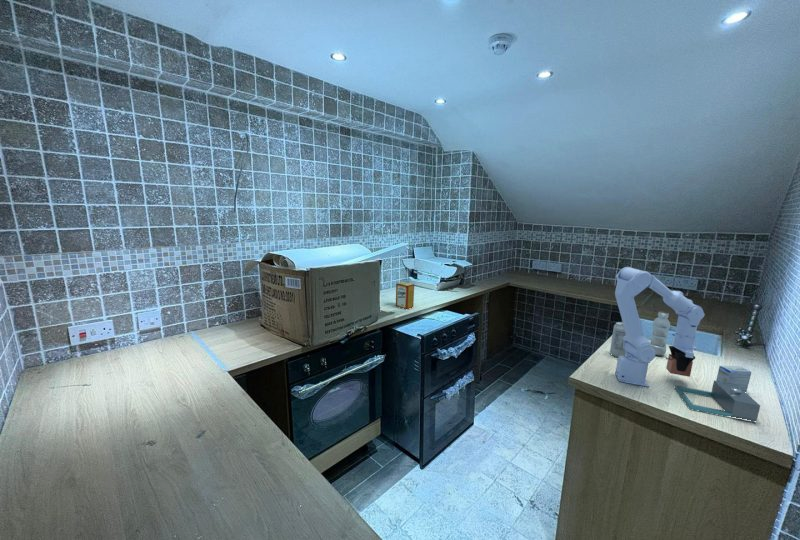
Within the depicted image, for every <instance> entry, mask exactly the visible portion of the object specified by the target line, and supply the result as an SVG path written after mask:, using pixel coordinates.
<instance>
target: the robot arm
mask: <svg viewBox="0 0 800 540" xmlns="http://www.w3.org/2000/svg"><path fill="white" fill-rule="evenodd" d="M615 278H616V281H617V282H616V287H615V291H614V296H615V299H616V303H617V308H618V310H619V314H620V317H621V322H622V323H623V325H624V329H625V332H626V336H624V337H623V340H624V343H623V349H624V350H625V351H626V352H625V354H626V356H619V357H617V360H616V368H615V372H614V373H615V375H616V377H617V379H618V381H619V382H622V383H627V384H632V385H637V386H642V387H647V388H648V387H649V386H650V385H649V383H648V382H647V380H646V379H647V375H648V374H647V373H648V368H649V364H650V363H651V362H652V361H654V360H655V357H656V356H657V355H656V353H655V350H654V349H653V348H652V347H651V345H650V342H651V341H649V340H648V338H647V337H646V336H645V334H644V329H643V327H642V322H641V320H640V315H639V313H638V312H639V311H638V308H637V305H636V304H637V303H636V301H635V297H636V296H637V295H639V294H640V293H641V292H642V291H644V290H645V289H647V288H649V289H650V290H652V291H653V292H654V293H657V295H659V296H661V298H662V301H663V302H664V304H666V305H667V306H668V307H670V308H671V309H672V310H674V312H675V315H677V316H678V317H677V322H676V327H675V333H674V337H673V338H672V341H671V345H668V349H669V351H670V354H672V355H676V357H677V370H678V371H682V372H685V370H686V369H687V367H688V365H689V364H690V363H691V362H692V361H693V362H694V360H695V359H696V356H695V353H694V351H697V349H698V348H697V347H696V346H694V345H695V338H696V335H697V330H698V326H699V325H700V322H701V320H702V319H703V318H704V317H705V315H706V313H704V310H703V308H702V307H701V306H700V305H698V304H694V301H693V300H692V299H689V298H687V297H685V295H684V293H683V292H682V291H679V290H671V289H670V288H668V287H667V286H666V285H665V284H664V283H662V282H661V281H660V280H659V279H658V278H656V275H653V274H651V273H650V272H648V271H646V270H641V269H637V268H633V267H631V266H625V267H623V268H621V269H620V270H619V272H618V273H617V274H616V275H615Z"/></svg>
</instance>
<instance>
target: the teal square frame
mask: <svg viewBox="0 0 800 540" xmlns="http://www.w3.org/2000/svg"><path fill="white" fill-rule="evenodd" d="M674 390H676V391H675V393H677V394H679V395H678V396H679V397H680V399H681V398H682V399H683V400H682V399H681V400H682V402H684V403H686V404H685V405H686V406H687V408H688V407H689V408H690V409H693V410H692V411H695V410H699V411H698V412H700V411H703V412H702V413H705V412H708V413H707V414H710V413H713V414H712V415H715V414H718V415H717V416H719V415H723V416H722V417H724V416H731V417H736V418H742V419H747V420H751V421H756V422H757V421H758V417H759V412H760V409H761V404H759V403H758V402H757V401H756V400H754V398H752V397H751V396H750V395H749V394H748V393H747V392H746V393H745V392H744V391H743V390H742V389H741V388H740V387H739V386H738V385H736V384H731V383H726V382H720V381H716V380H713V383H712V388H711V391H709V390H708V391H707V390H701V389H698V388H697V389H696V388H693V387H687V386H681V385H676V384H675V385H674ZM685 393H686V394H687V393H688V394H693V395H697V396H703V397H709V398H712V399H713V401H715V402H716V404H717V405H719V407H720V406H721V407H722V408H723V409H724V410H725V411H724V410H723V409H722V408H721V407H720V408H721V409H718V408H713V407H707V406H703V405H698V404H693V402H692V401H691V400H690V399H689V397H688V396H687V395H686V394H685ZM689 408H688V409H689ZM690 409H689V410H690Z"/></svg>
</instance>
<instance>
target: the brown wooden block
mask: <svg viewBox="0 0 800 540" xmlns="http://www.w3.org/2000/svg"><path fill="white" fill-rule="evenodd" d="M665 360H667V361H666V362H667V363H666V367H665V369H666V370H667V371H668V373H669V374H671V375H678V376H683V377H684V376H685V377H689V378H690V377H691V373H692V368H693V363H694V360H693V361H692V362H691V363H690V364H689V365H688V367H687V369H686V370H685V372H682V371H678V370H677V357H676V355H672V354H671V353H669V354H668V356H665Z"/></svg>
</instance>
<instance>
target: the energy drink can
mask: <svg viewBox="0 0 800 540" xmlns="http://www.w3.org/2000/svg"><path fill="white" fill-rule="evenodd" d="M612 329H613V331H612V336H611V343H610V348H609V353H610V355H611V354H612V355H613V356H612V355H611V356H612V357H614V356H615V358H618V357H619V356H626V354H625V352H626V351H625V350H624V349H623V343H624V340H623V337H624V336H626V332H625V329H624V325H623V321H617V322H615V323H614V325H613V328H612Z"/></svg>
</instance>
